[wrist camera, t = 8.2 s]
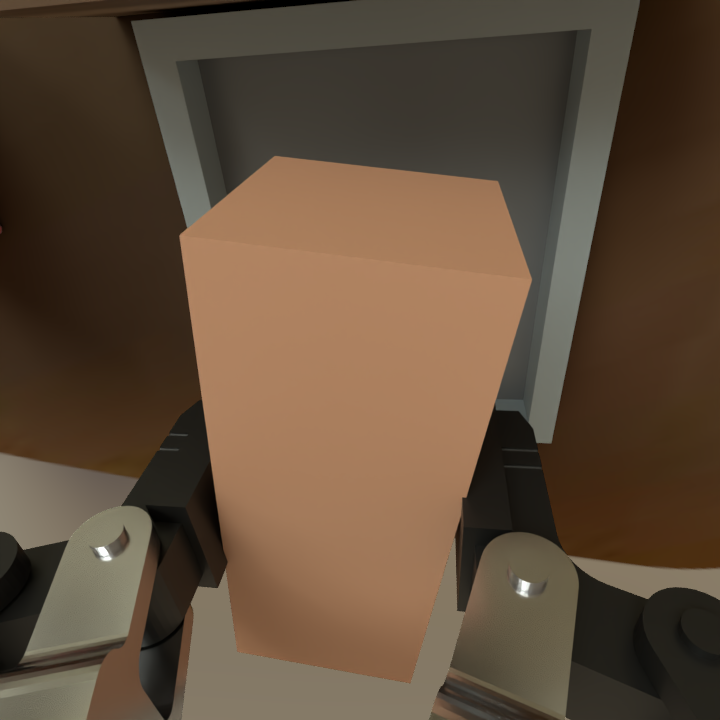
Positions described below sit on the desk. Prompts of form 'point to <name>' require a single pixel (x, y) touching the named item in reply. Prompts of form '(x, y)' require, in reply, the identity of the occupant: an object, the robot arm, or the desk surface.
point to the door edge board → (106, 7)
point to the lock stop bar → (347, 395)
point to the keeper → (415, 123)
